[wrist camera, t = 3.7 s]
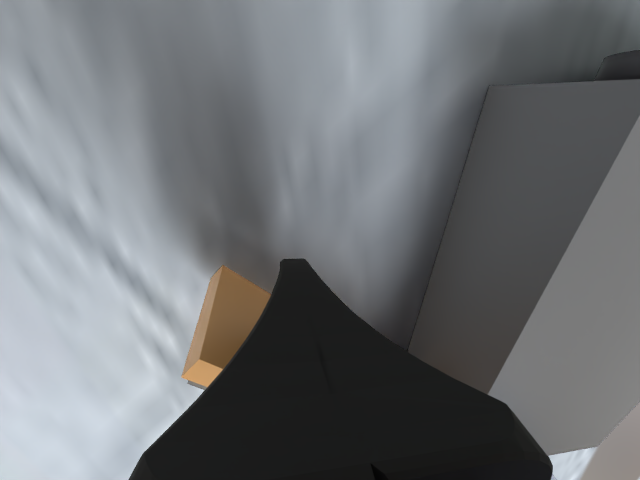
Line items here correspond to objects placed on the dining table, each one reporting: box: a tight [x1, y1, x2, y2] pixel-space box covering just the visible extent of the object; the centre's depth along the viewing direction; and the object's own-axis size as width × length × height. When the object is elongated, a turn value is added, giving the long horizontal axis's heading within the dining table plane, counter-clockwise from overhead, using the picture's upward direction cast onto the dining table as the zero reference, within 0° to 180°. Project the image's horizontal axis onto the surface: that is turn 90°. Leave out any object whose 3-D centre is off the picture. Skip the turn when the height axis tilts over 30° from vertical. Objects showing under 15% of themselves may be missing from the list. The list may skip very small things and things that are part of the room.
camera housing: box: [407, 50, 640, 456], centre depth 12 cm, size 17×9×6 cm, turn 176°
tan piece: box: [182, 265, 271, 390], centre depth 12 cm, size 13×2×4 cm, turn 46°
